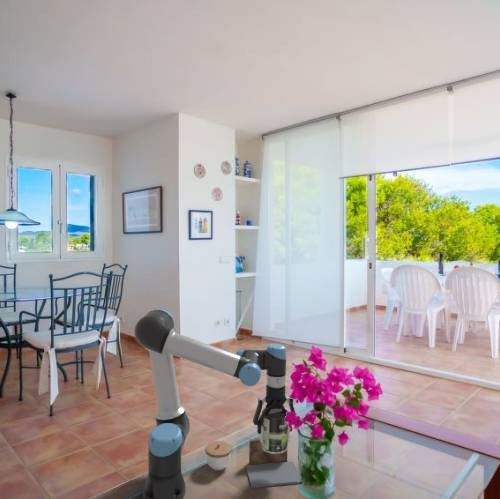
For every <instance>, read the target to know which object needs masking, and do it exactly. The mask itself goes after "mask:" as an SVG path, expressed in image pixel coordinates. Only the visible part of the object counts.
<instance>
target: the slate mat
mask: <svg viewBox="0 0 500 499" xmlns="http://www.w3.org/2000/svg"><path fill="white" fill-rule="evenodd" d="M245 470H246V474H247V477H248V480H249V483H250V484H249V485H250V487H251V489H252V488H253V489H254V488H264V487H273V486H275V487H276V486H283V485H295V484H299V483H298V472H299V471H298V468H297V466H296V464H295V463H294V461H285V462H273V463H261V464H249V465H245Z"/></svg>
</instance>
